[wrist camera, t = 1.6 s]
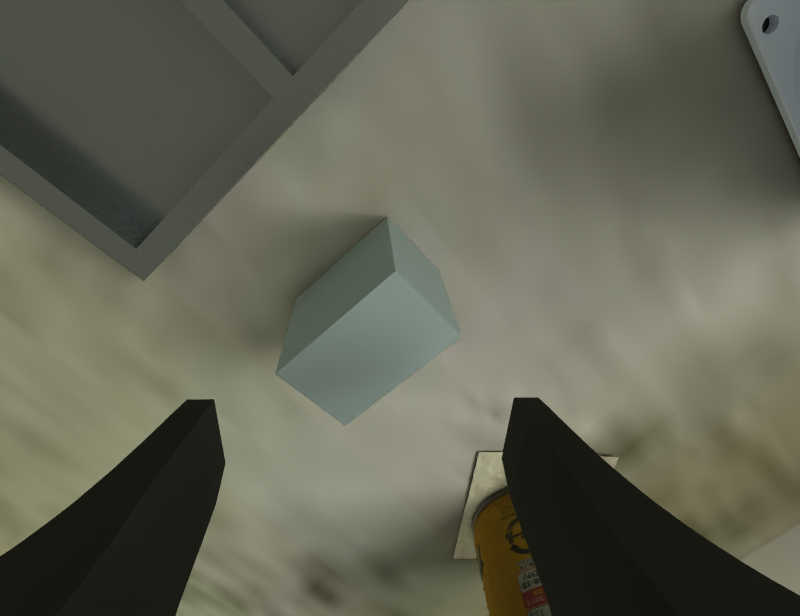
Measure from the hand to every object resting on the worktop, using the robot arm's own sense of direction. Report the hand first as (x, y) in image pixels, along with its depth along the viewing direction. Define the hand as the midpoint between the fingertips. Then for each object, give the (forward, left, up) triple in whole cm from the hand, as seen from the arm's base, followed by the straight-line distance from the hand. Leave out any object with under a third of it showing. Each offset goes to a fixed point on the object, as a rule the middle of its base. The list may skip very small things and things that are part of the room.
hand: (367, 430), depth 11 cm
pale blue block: (0, 0, -8) cm, 8 cm away
